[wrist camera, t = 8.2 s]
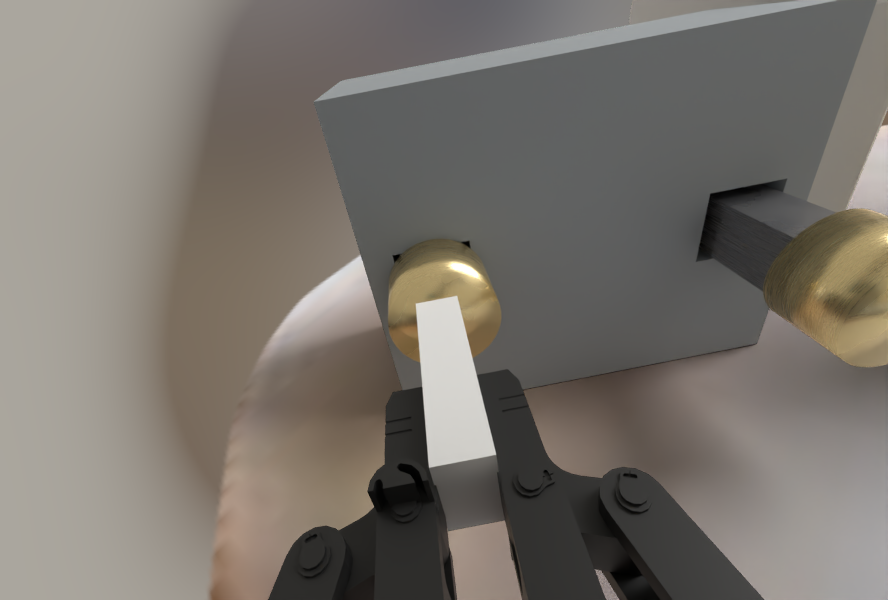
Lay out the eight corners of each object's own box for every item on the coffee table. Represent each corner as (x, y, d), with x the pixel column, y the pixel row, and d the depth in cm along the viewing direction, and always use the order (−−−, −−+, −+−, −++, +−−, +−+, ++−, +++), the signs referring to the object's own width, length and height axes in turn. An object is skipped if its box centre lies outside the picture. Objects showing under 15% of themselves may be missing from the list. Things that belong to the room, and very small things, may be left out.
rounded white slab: (856, 288, 25) (1046, -106, 15) (722, 297, 27) (817, -59, 17) (684, 160, 49) (715, -29, 39) (617, 168, 50) (631, -13, 40)
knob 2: (746, 241, 21) (770, 155, 19) (945, 352, 13) (1030, 232, 11) (664, 257, 21) (677, 173, 19) (816, 378, 13) (872, 263, 11)
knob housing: (665, 268, 30) (709, 9, 21) (756, 343, 23) (880, -9, 14) (404, 319, 30) (341, 80, 21) (409, 411, 23) (313, 101, 14)
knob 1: (470, 257, 24) (460, 186, 22) (505, 354, 17) (496, 262, 14) (398, 271, 24) (381, 202, 22) (402, 374, 17) (375, 285, 14)
